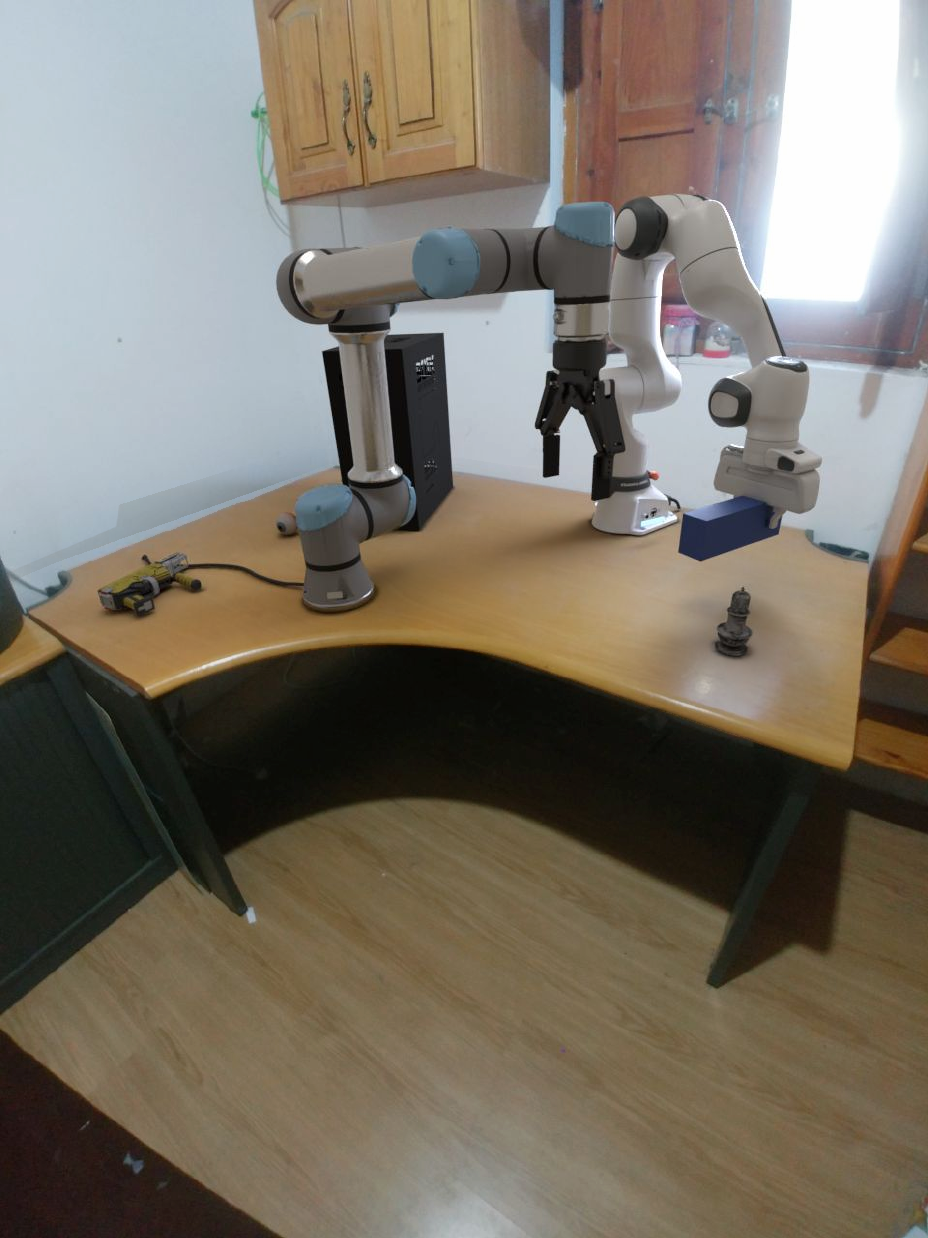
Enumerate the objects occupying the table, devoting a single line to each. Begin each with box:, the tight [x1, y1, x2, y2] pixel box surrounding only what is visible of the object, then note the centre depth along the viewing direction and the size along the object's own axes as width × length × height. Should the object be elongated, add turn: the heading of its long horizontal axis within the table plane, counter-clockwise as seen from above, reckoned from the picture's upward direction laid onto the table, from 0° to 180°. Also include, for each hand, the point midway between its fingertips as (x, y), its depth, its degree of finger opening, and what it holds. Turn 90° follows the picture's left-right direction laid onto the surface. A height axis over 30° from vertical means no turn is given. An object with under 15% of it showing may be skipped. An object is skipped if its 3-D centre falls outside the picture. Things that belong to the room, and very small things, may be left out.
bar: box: [677, 496, 784, 562], centre depth 116 cm, size 22×5×8 cm, turn 120°
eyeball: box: [275, 511, 298, 536], centre depth 163 cm, size 6×6×6 cm
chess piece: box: [714, 586, 754, 657], centre depth 103 cm, size 6×6×12 cm
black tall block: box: [321, 332, 454, 532], centre depth 169 cm, size 38×20×45 cm, turn 167°
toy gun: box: [97, 551, 203, 617], centre depth 137 cm, size 5×24×15 cm
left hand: (574, 487), depth 94 cm, fingers open, 13 cm apart
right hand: (755, 522), depth 119 cm, fingers closed on bar, 5 cm apart
